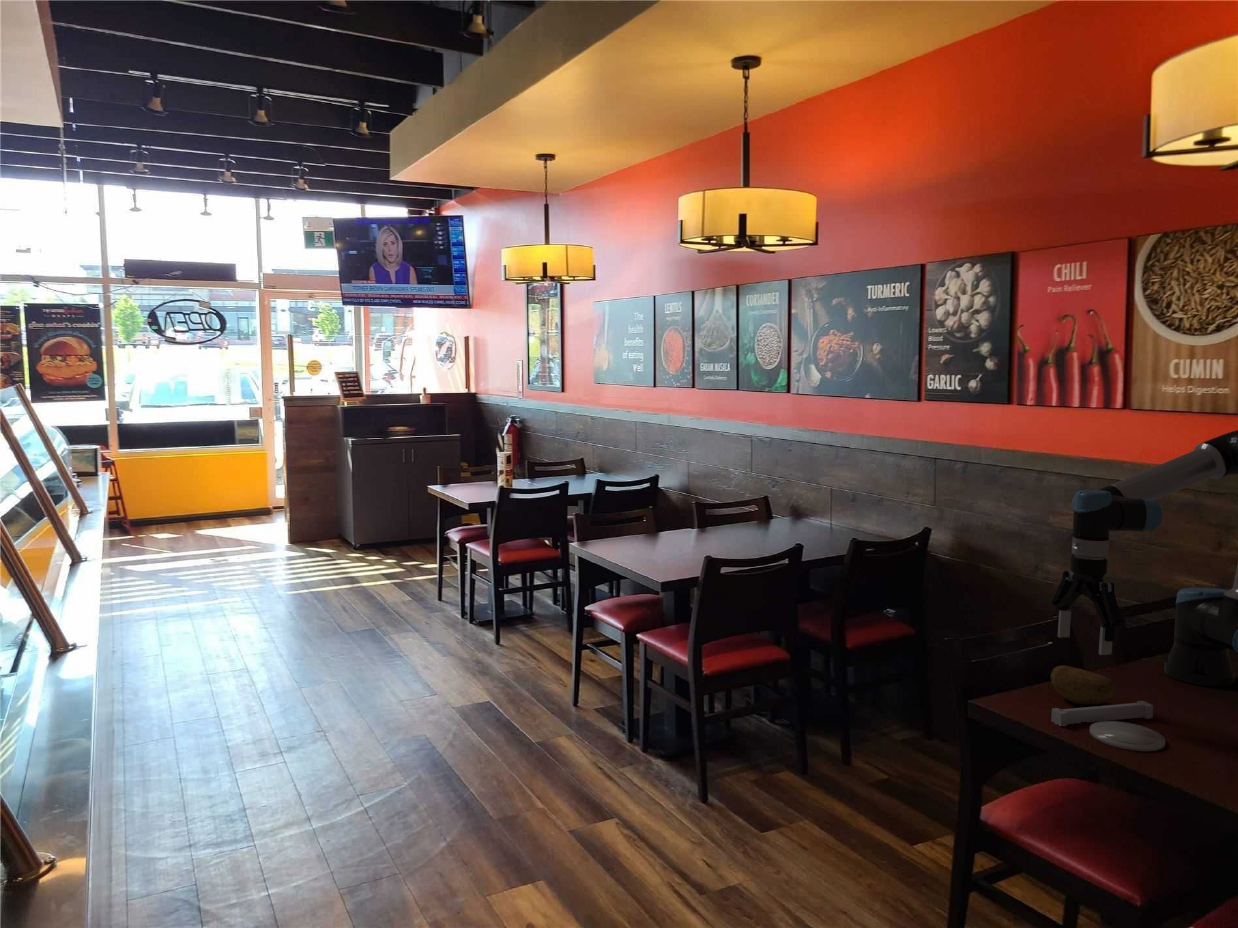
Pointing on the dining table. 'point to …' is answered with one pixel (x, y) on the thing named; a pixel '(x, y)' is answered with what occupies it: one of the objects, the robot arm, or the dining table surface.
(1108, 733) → the plate
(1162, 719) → the dining table surface
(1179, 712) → the dining table surface
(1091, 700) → the potato
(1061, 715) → the rail
